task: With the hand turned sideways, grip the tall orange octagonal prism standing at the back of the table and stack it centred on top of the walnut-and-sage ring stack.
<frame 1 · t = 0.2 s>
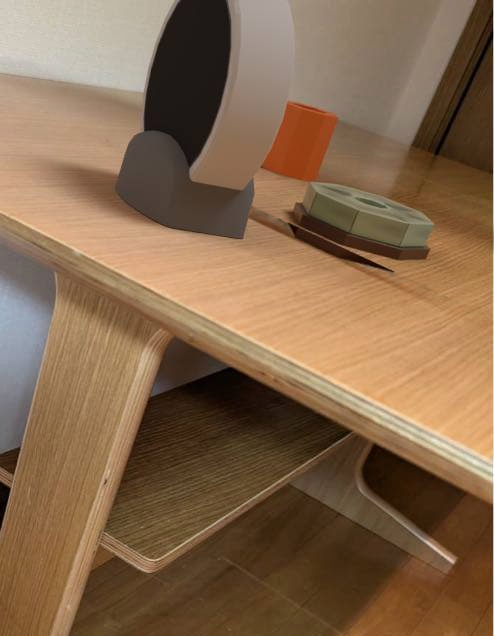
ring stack: (352, 246, 76), on the table
orange octagonal prism: (284, 181, 97), on the table
alarm clock: (176, 211, 72), on the table
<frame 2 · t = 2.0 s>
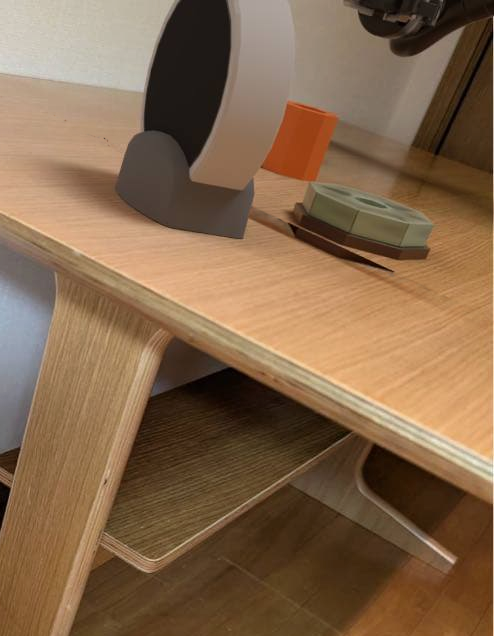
nothing on the table moved.
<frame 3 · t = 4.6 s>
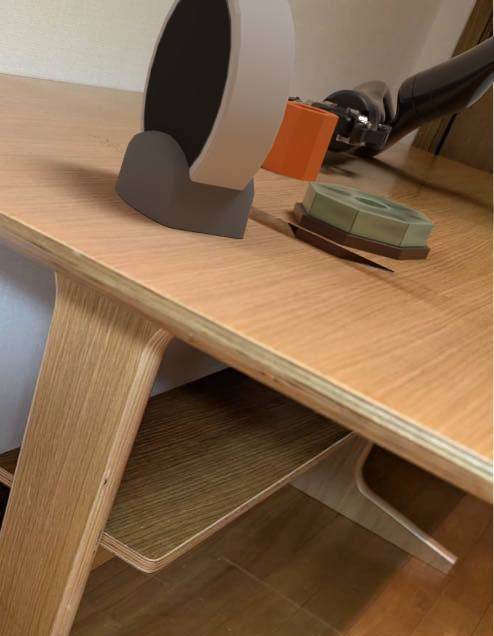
hand: (320, 123, 100), 6 cm above the table, tool horizontal, fingers open, 8 cm apart
nothing on the table moved.
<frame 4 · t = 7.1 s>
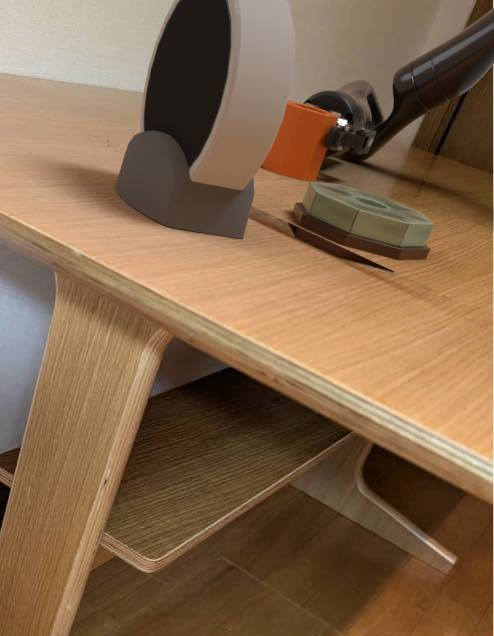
hand: (298, 127, 92), 6 cm above the table, tool horizontal, fingers closed on orange octagonal prism, 7 cm apart
orange octagonal prism: (284, 181, 97), on the table, touching gripper
everything else where it was.
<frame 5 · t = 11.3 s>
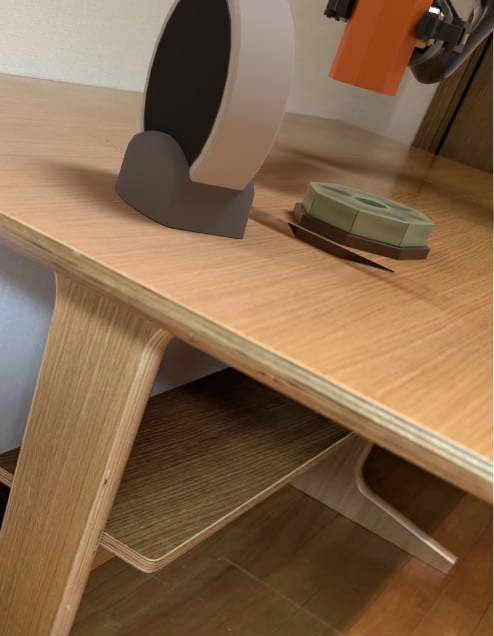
hand: (383, 13, 75), 18 cm above the table, tool horizontal, fingers closed on orange octagonal prism, 7 cm apart
orange octagonal prism: (361, 86, 80), point 12 cm above the table, touching gripper
everything else where it was.
when the fingers open (10 cm above the table, at t = 15.8 s): orange octagonal prism stays where it is, resting on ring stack.
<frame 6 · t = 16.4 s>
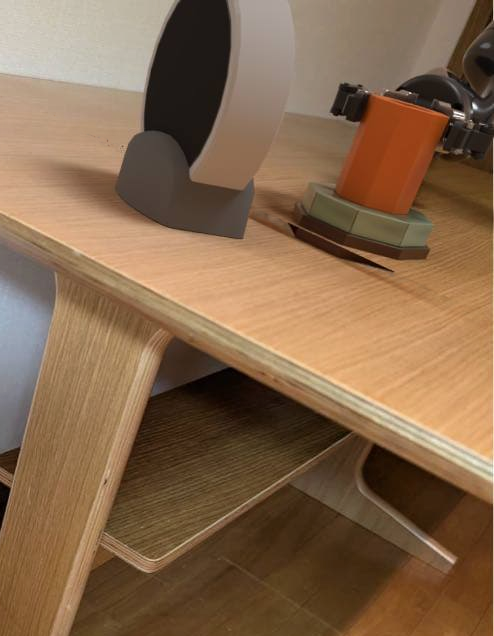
hand: (401, 122, 68), 11 cm above the table, tool horizontal, fingers open, 8 cm apart
orange octagonal prism: (370, 202, 74), point 4 cm above the table, touching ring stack
everything else where it was.
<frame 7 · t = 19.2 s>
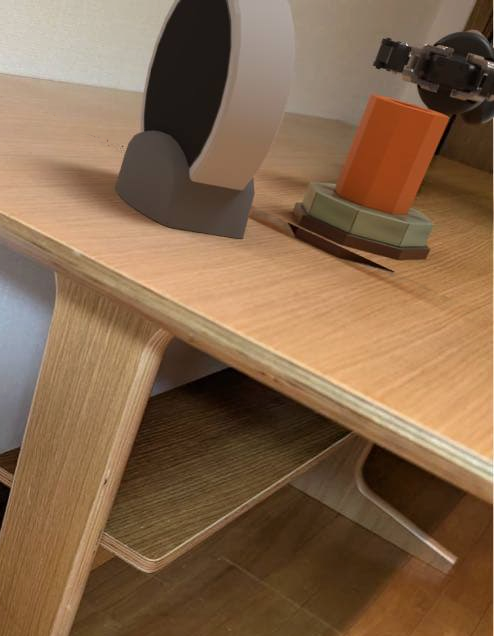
hand: (441, 70, 75), 15 cm above the table, tool horizontal, fingers open, 8 cm apart
nothing on the table moved.
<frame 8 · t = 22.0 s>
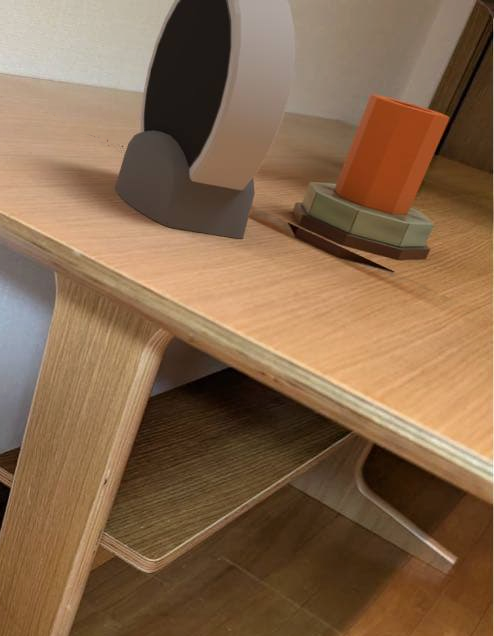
nothing on the table moved.
at the end: orange octagonal prism 0.1 cm off-centre on the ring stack, point 4.0 cm above the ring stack's base; orange octagonal prism tilted 0°; the gripper is holding nothing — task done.
